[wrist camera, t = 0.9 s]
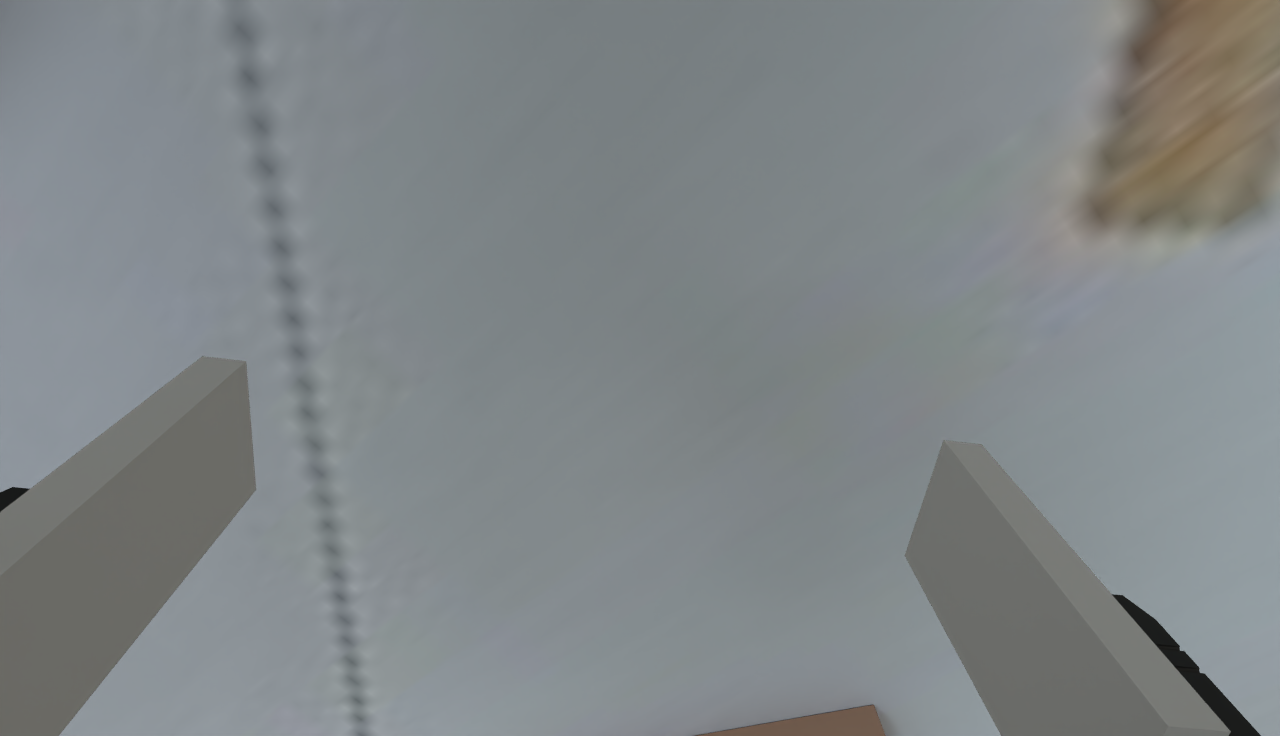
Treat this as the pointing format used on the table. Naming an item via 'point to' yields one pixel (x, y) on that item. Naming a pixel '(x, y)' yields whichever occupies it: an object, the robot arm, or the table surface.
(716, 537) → the table surface
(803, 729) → the plant saucer
